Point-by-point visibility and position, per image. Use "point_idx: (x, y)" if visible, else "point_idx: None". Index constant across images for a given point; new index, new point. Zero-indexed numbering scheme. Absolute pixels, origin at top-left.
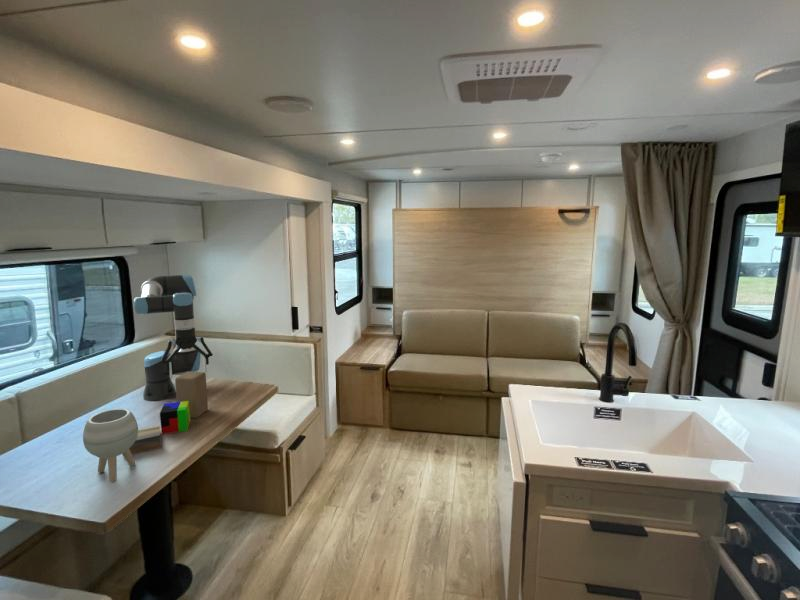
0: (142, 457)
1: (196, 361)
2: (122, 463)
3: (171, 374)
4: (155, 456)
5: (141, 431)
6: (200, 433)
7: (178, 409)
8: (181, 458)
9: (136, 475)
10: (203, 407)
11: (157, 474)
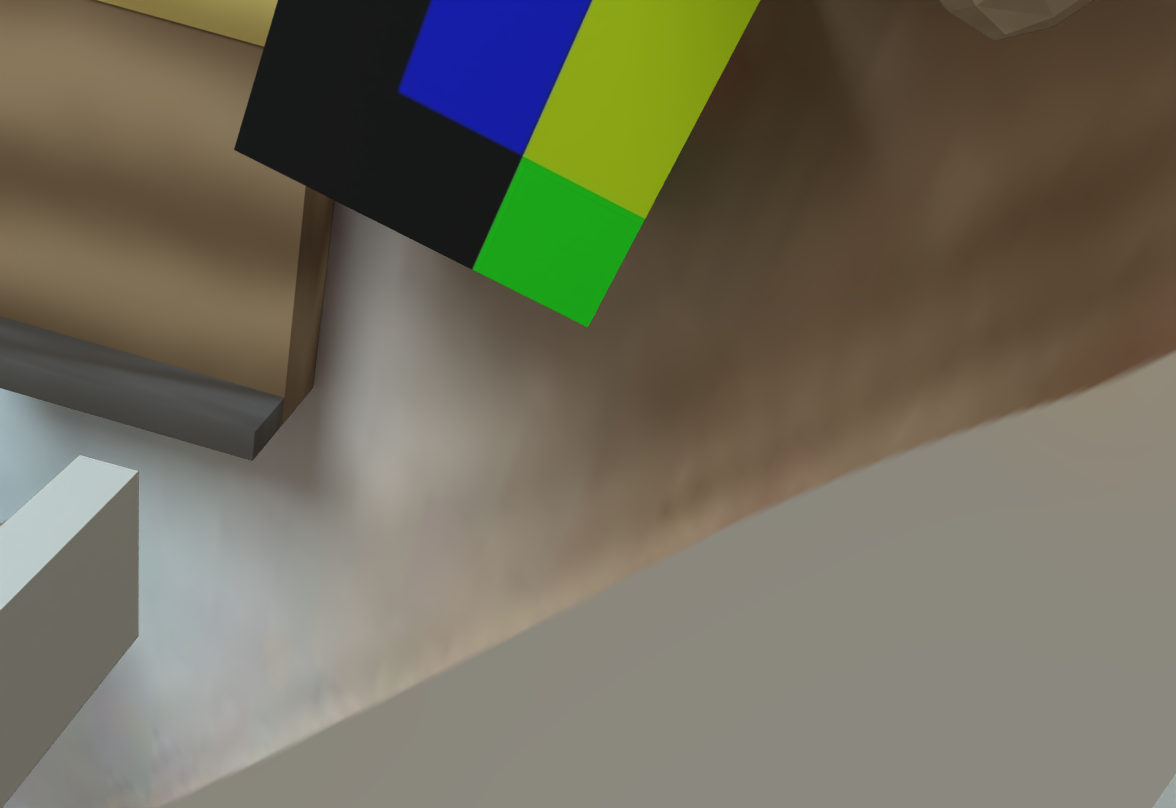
0: (150, 438)
1: None
2: (3, 414)
3: (47, 721)
4: (247, 502)
5: (109, 16)
6: (718, 394)
7: (502, 238)
8: (419, 675)
9: None
10: None
11: (233, 733)
